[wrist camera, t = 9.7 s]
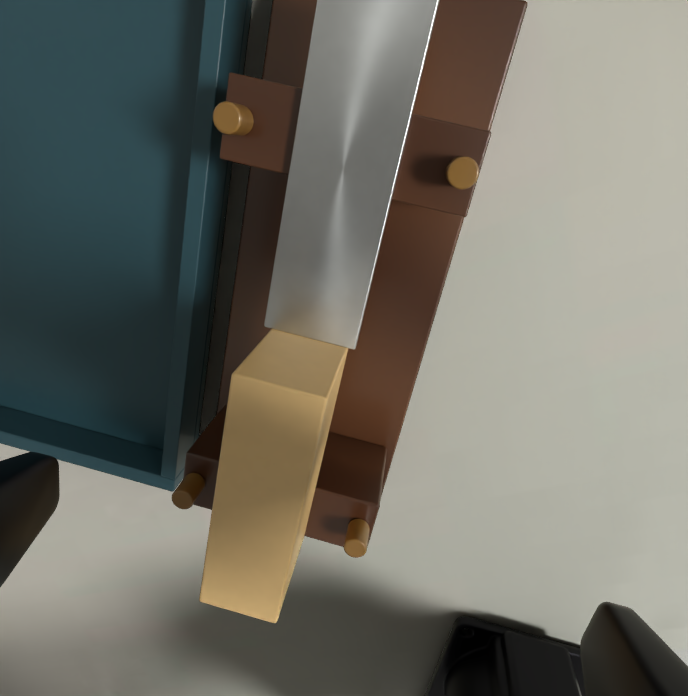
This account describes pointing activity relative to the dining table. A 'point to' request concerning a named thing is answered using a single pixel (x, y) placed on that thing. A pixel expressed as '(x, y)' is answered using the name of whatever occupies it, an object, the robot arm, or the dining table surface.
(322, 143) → the knife
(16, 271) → the cutlery tray
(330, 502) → the knife rack
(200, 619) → the dining table surface
